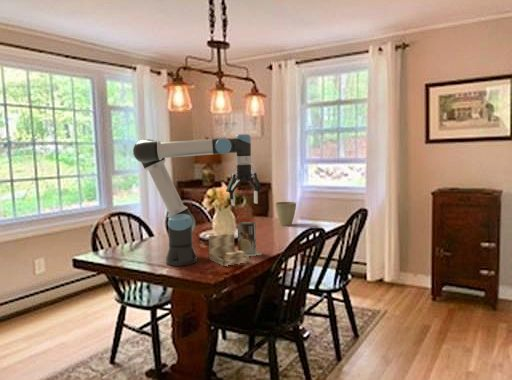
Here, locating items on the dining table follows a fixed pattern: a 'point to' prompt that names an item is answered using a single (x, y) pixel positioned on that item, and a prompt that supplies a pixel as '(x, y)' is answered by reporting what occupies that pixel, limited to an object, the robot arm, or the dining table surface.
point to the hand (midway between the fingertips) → (244, 204)
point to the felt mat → (253, 254)
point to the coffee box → (247, 237)
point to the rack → (223, 249)
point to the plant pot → (285, 212)
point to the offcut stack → (234, 255)
